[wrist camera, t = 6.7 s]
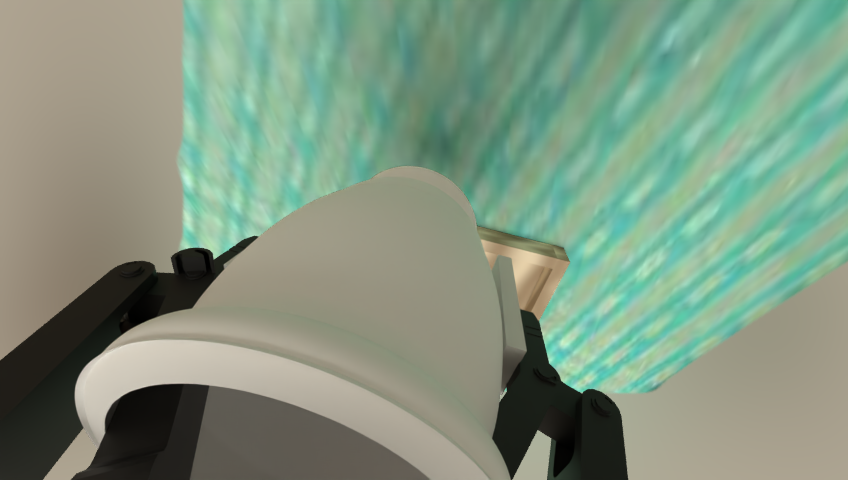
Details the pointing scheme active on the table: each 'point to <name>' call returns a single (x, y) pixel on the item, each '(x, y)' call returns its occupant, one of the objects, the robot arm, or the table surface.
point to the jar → (335, 345)
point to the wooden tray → (528, 266)
